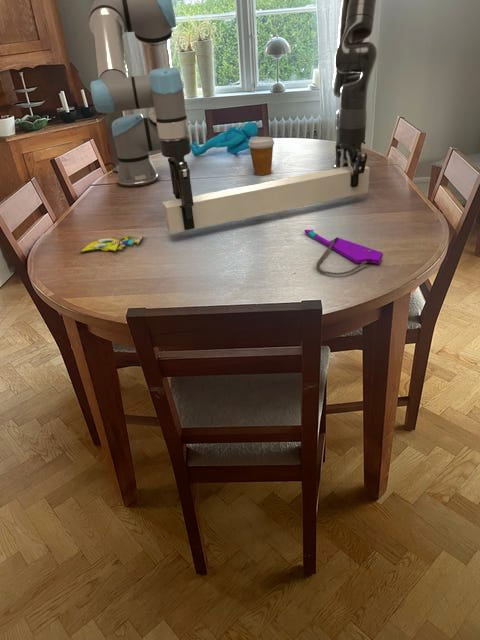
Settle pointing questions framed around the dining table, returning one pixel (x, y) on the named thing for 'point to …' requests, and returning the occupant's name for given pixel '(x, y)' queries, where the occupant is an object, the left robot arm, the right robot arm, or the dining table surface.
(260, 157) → the disposable coffee cup
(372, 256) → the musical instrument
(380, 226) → the dining table surface
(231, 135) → the toy
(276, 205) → the post
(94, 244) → the toy
